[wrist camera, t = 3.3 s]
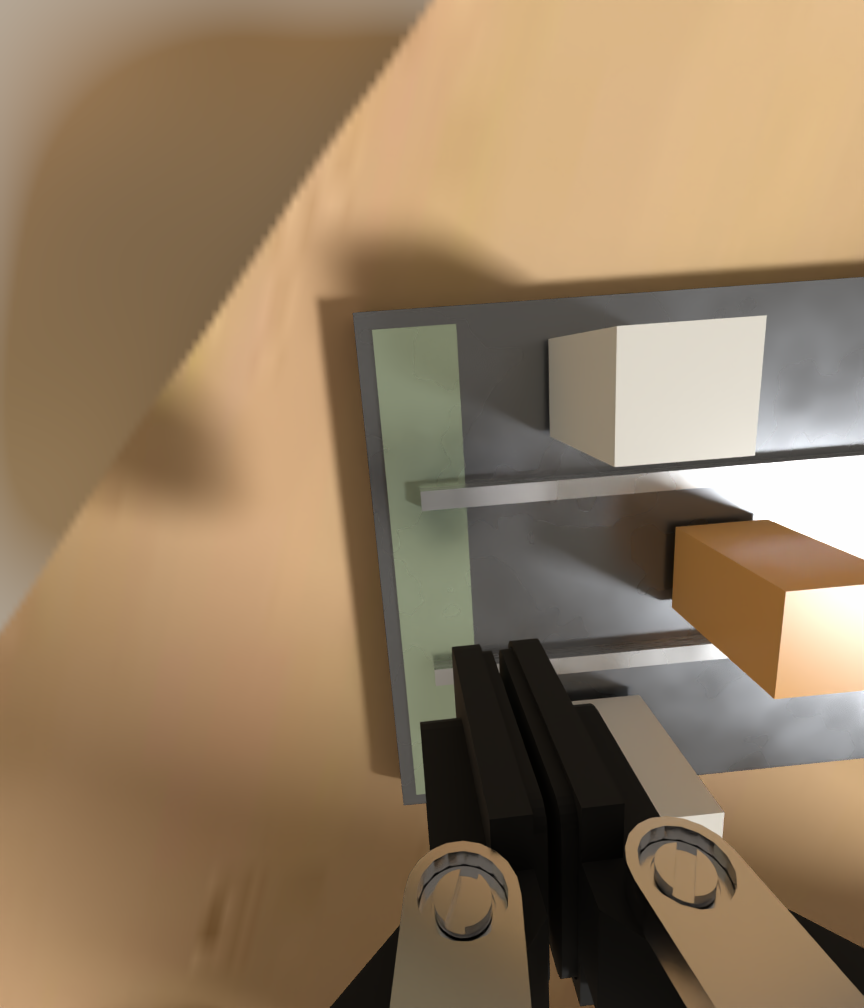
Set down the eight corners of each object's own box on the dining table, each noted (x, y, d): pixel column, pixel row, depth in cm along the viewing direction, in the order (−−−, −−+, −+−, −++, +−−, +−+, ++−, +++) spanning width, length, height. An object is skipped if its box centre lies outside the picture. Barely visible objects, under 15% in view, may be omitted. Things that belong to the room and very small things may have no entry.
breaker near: (651, 331, 15) (766, 315, 10) (648, 428, 16) (754, 455, 11) (548, 339, 15) (616, 326, 10) (550, 436, 16) (614, 467, 11)
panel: (1046, 268, 17) (1119, 256, 15) (951, 725, 21) (999, 757, 19) (356, 316, 16) (350, 310, 14) (403, 780, 20) (403, 818, 19)
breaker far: (639, 694, 18) (724, 812, 13) (636, 762, 19) (717, 897, 14) (553, 703, 18) (608, 824, 13) (554, 771, 19) (607, 910, 14)
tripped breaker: (767, 519, 17) (914, 579, 12) (759, 599, 18) (895, 687, 13) (675, 526, 17) (786, 591, 12) (671, 607, 18) (774, 699, 13)
